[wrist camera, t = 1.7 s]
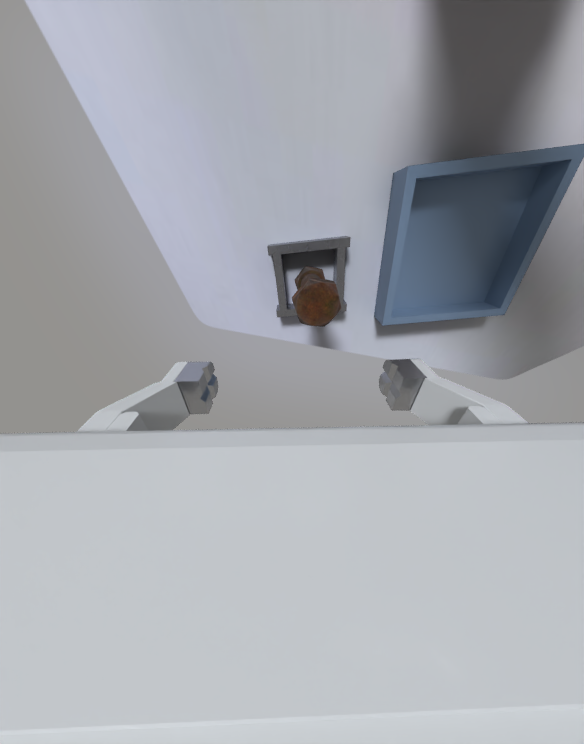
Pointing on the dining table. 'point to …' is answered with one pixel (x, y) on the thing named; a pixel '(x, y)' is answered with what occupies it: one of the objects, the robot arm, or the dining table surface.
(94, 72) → the dining table surface
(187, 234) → the dining table surface
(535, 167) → the tray
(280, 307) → the bracket
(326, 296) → the bolt
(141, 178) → the dining table surface
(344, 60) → the dining table surface
